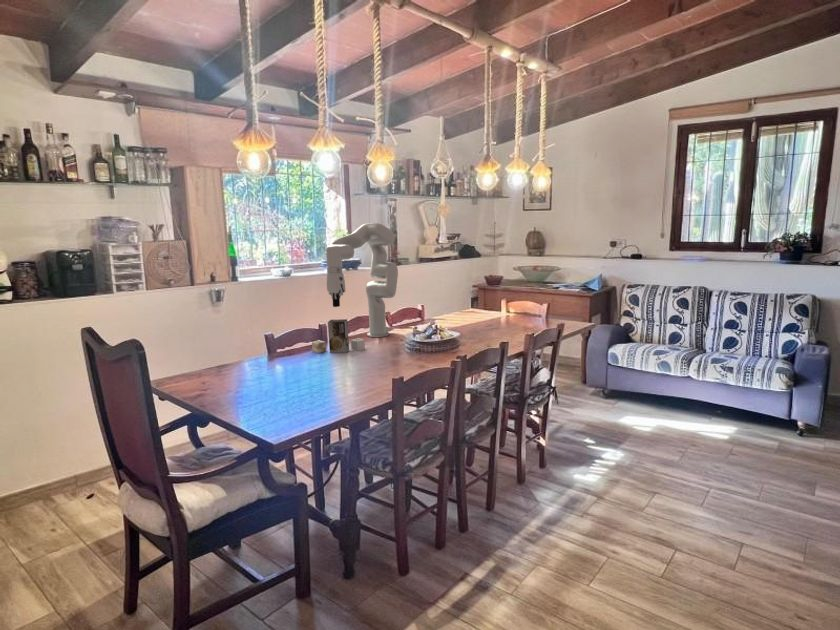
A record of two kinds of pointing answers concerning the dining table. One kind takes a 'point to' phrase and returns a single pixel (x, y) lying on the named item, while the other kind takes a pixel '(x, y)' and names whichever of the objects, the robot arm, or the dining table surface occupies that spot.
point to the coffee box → (338, 335)
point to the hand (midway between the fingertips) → (336, 306)
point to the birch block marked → (318, 346)
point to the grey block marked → (357, 344)
